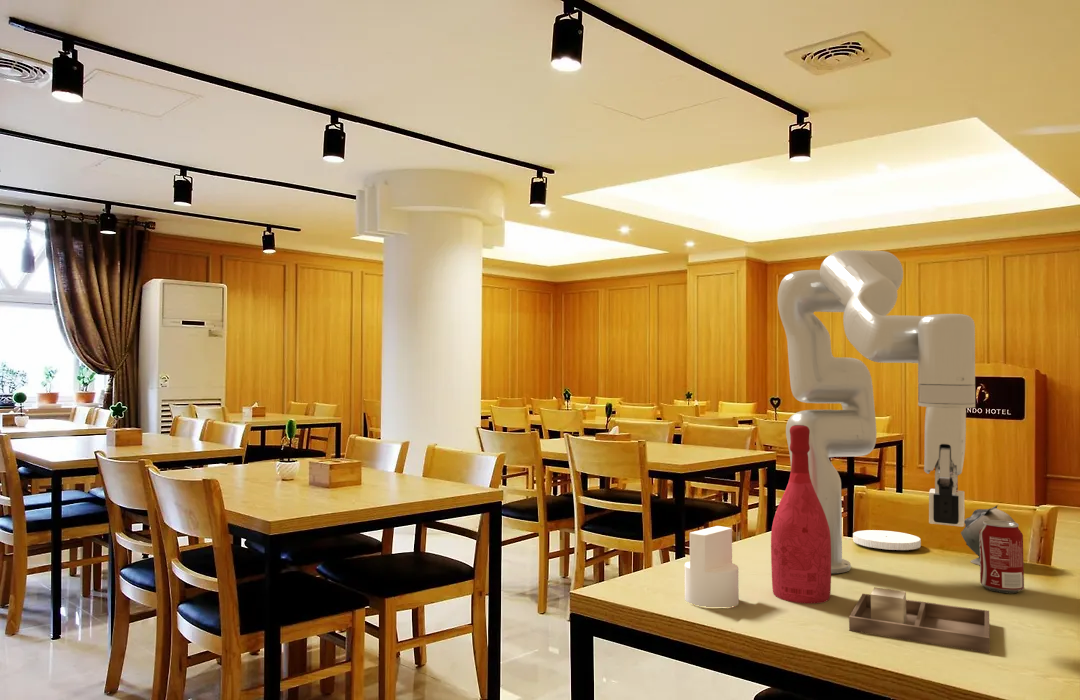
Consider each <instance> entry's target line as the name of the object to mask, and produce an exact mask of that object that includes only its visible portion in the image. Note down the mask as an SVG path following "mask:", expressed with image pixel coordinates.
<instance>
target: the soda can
mask: <svg viewBox="0 0 1080 700" xmlns="http://www.w3.org/2000/svg"><path fill="white" fill-rule="evenodd" d="M983 523H984V525H983V527H982V528H981V529H980V531H979V534H980V565H979V570H980V571H979V575H980V576H979V577H980V578H979V579H980V580H979V581H980V582H979V583H980V585H981V586H982V587H985V588H986V589H987V590H988V591H991V592H996V593H1002V594H1017V593H1019V592H1022V591H1023V590H1024V589H1025V578H1024V577H1025V574H1024V573H1025V572H1024V570H1025V569H1024V563H1025V562H1024V535H1023V533H1022V531H1021V530H1020V529H1019V526H1020V525H1019V523H1017V522H1016V521H1015V522H1010V521H1002V520H985V521H983Z"/></svg>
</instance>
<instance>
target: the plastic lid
mask: <svg viewBox="0 0 1080 700" xmlns="http://www.w3.org/2000/svg"><path fill="white" fill-rule="evenodd" d="M852 541H853V542H854V543H855V544H857V545H860V546H863V547H868V548H874V549H880V550H881V549H882V550H892V551H895V550H896V551H909V550H910V551H911V550H912V551H913V550H918V549H920V548H921V546H922V541H921V538H920V537H919V536H917V535H913V534H909V533H907V532H900V531H893V530H880V529H879V530H878V529H877V530H876V529H872V530H871V529H866V530H857V531H855V532H853V533H852Z"/></svg>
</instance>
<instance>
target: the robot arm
mask: <svg viewBox="0 0 1080 700" xmlns="http://www.w3.org/2000/svg"><path fill="white" fill-rule="evenodd" d="M903 279H904V269H903V265H902V263H901V261H900V260H899V258H898V257H897V256H896V255H895V254H893V253H891V252H889V251H884V250H861V249H860V250H859V249H858V250H857V249H855V250H854V249H852V250H850V249H846V250H839V251H835V252H833V253H831V254H829V255H828V256H827V257H825V259H824V260H823V261H822V262H821V264H820V268H819V269H805V270H798V271H792V272H790V273H788V274H786V275H785V276H784V277H783V278H782V280H781V281H780V284H779V287H778V290H777V307H778V308H777V309H778V313H779V318H780V320H781V323H782V326H783V329H784V332H785V336H786V342H787V357H788V371H789V373H788V374H789V383H790V384H789V385H790V389H791V390H790V391H791V393H792V397H794V398H795V400H797V401H799V402H801V403H805V404H840V405H841V407H842V409H805V410H800V411H796V413H793V414H792V415H791V416H790V417H789V418H788V420H787V422H786V425H785V437H786V440H787V441H786V442H787V446H788V447H787V448H788V451H789V458H790V459H789V460H790V465H791V464H792V452H791V450H790V443H791V440H790V428H791V427H792V426H794V425H805V426H807V427H808V428H809V430H810V434H809V446H810V450H809V452H808V464H809V474H810V479H811V482H812V485H813V488H814V490H815V492H816V495H817V497H818V499H819V501H820V503H821V506H822V508H823V510H824V513H825V516H826V519H827V522H828V525H829V529H830V537H831V575H833V574H841V573H846V572H849V571H850V570H851V567H852V565H851V562H850V561H849V560H847V559H845V558H843V531H842V530H843V528H842V525H843V522H842V521H843V520H842V519H843V518H842V514H843V513H842V508H843V507H842V479H841V477H840V474H839V472H838V470H837V469H836V468H835V466H834V465H833V463H832V462H831V460H830V458H834V457H836V458H839V457H840V458H842V457H843V458H844V457H864V456H867V455H869V454H870V453H871V452H872V451H873V450H874V448H875V446H876V443H877V422H876V421H877V419H876V411H875V398H874V388H873V387H874V386H873V380H872V376H871V372H870V370H869V369H868V366H867V365H866V364H865V363H864V361H862V360H860V359H858V358H855V357H854V358H853V357H838V356H837V357H835V356H834V355H833V353H832V345H831V344H832V343H831V340H832V339H831V335H830V332H829V331H828V329H827V327H826V326H825V324H824V323H823V322H822V321H821V319H819V318H818V317H817V315H816V314H814V313H815V312H816V313H818V312H820V313H825V312H826V313H843V319H842V321H843V330H844V334H845V336H846V339H847V340H848V341H849V343H850V345H852V347H854V349H856V351H857V352H858V353H860V355H862V356H863V357H864V358H866V359H868V360H870V361H872V362H875V363H880V364H881V363H884V364H885V363H886V364H888V363H889V364H890V363H891V364H892V363H894V364H895V363H897V364H898V363H900V364H901V363H902V364H904V363H905V364H906V363H907V364H908V363H911V364H917V384H918V387H917V388H918V389H917V392H918V393H917V395H918V396H917V400H918V401H917V402H918V403H917V406H919V407H925V414H924V415H925V416H924V458H923V459H924V460H923V461H924V463H923V464H924V465H923V471H924V472H925V473H926V474H930V473H931V472H932V471H934V470H935V472H934V489H935V494H934V521H935V522H939V523H950V524H957V523H958V521H959V506H958V496H956V491H959V487H958V485H959V483H958V482H959V481H958V480H959V479H958V476H960V475H961V474H962V473H963V468H964V461H965V453H966V440H967V439H966V438H967V437H966V435H967V434H966V433H967V410H966V409H972V408H976V325H975V321H974V319H973V318H972V317H971V316H970V315H967V314H962V313H939V314H938V313H937V314H927V315H922V316H921V315H897V314H895V315H891V314H890V315H889V313H890V312H891V311H892V310H893V309H894V307H895V305H896V303H897V300H898V290H899V288H900V287H901V285H902V283H903Z"/></svg>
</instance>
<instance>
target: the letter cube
mask: <svg viewBox="0 0 1080 700" xmlns="http://www.w3.org/2000/svg"><path fill="white" fill-rule="evenodd" d="M934 494H935V488H930V489H929V492H928V524H931V525H933V524H934V525H942V526H952V527H953V526H955V527H962V528H963V527H964V528H965V523H964V521H965V491H964V490H956V496H958V506H959V521H958V523H957V524H950V523H939V522H935V521H934Z"/></svg>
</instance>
